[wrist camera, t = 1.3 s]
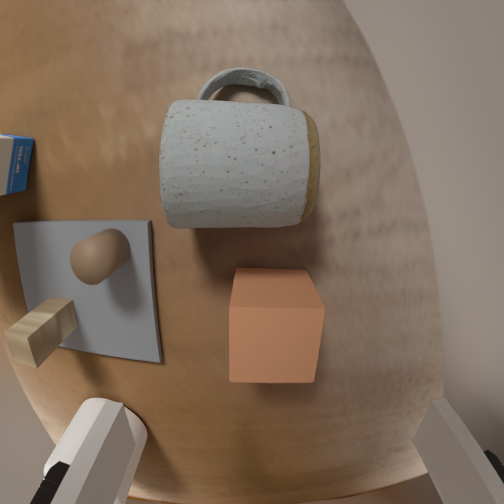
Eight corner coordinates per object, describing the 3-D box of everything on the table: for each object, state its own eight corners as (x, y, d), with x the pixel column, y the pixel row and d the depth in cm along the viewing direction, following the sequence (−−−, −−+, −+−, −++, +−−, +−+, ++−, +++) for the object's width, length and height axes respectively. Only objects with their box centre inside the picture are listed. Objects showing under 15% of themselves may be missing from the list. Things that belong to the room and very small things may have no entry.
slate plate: (18, 221, 22) (-16, 232, 17) (151, 220, 22) (126, 233, 17) (39, 337, 25) (14, 360, 20) (162, 357, 25) (147, 391, 20)
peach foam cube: (236, 267, 23) (229, 306, 16) (306, 269, 23) (325, 308, 16) (235, 328, 24) (229, 381, 18) (299, 330, 24) (313, 382, 18)
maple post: (55, 293, 24) (4, 331, 16) (76, 296, 24) (27, 338, 16) (60, 318, 24) (14, 361, 17) (81, 322, 24) (37, 368, 17)
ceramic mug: (299, 219, 22) (323, 241, 14) (185, 218, 22) (153, 239, 14) (300, 76, 19) (323, 32, 12) (187, 76, 19) (158, 34, 12)
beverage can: (162, 439, 28) (137, 526, 17) (110, 444, 29) (79, 517, 17) (121, 388, 26) (75, 478, 15) (70, 398, 27) (23, 470, 15)
